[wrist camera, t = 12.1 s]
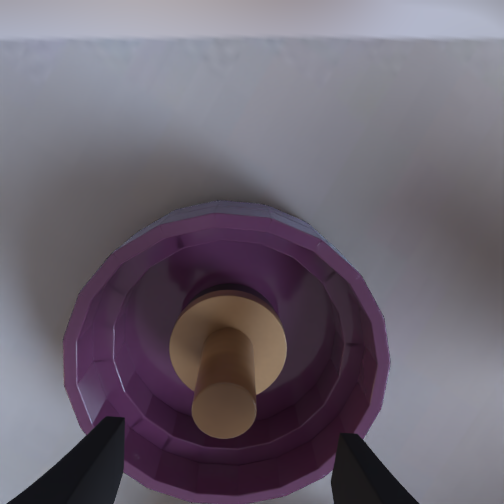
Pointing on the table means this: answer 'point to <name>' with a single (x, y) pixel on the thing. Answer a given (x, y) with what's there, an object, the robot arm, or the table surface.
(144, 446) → the bowl
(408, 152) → the table surface
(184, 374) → the pot brush
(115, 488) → the robot arm
